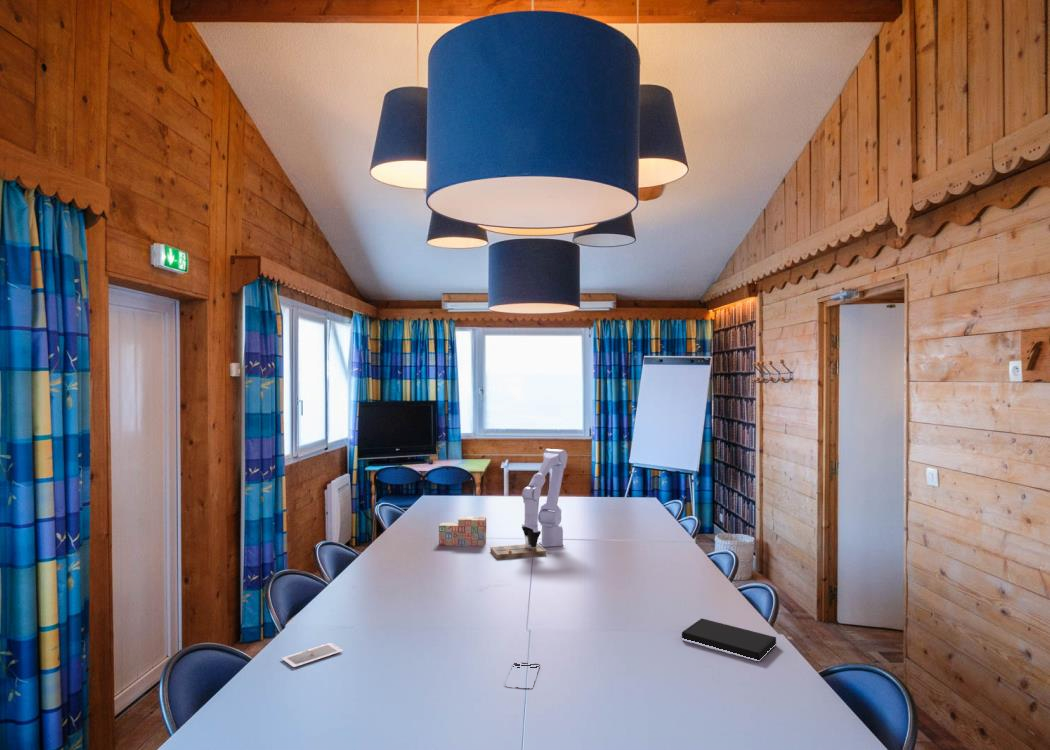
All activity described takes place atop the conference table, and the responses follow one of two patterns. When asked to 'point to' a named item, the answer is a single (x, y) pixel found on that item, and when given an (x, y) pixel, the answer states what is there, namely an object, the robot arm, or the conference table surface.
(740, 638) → the external hard drive
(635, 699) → the conference table surface
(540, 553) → the fader console
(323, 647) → the touchpad
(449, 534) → the stack of blocks
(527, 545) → the fader tab
